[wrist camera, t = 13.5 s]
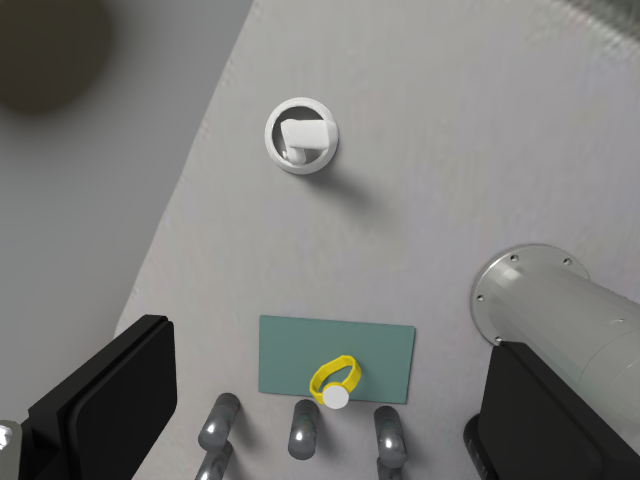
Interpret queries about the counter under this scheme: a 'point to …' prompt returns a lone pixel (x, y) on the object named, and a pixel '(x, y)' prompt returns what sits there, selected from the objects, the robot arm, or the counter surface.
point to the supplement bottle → (478, 451)
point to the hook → (303, 137)
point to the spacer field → (297, 438)
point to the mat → (334, 356)
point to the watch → (335, 392)
